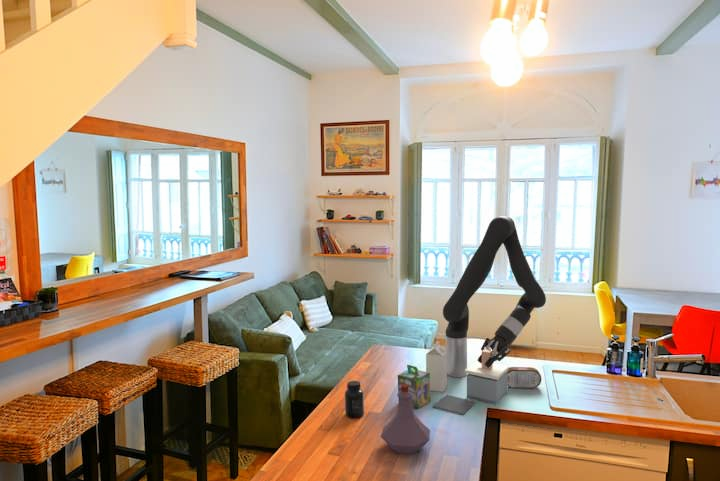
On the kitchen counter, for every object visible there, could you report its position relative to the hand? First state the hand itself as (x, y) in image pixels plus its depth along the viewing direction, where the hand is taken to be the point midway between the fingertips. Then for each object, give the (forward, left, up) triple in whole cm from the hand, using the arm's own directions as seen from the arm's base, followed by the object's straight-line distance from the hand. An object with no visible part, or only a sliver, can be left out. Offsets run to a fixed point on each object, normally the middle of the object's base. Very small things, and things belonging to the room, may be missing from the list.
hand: (483, 364), depth 189 cm
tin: (+10, +16, -13) cm, 24 cm away
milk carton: (-19, -3, -13) cm, 23 cm away
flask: (-6, -50, -13) cm, 52 cm away
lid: (+1, +2, -3) cm, 4 cm away
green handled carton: (-20, -20, -13) cm, 31 cm away
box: (+1, +1, -13) cm, 13 cm away
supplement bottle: (-33, -41, -13) cm, 54 cm away
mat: (-6, -14, -13) cm, 20 cm away
